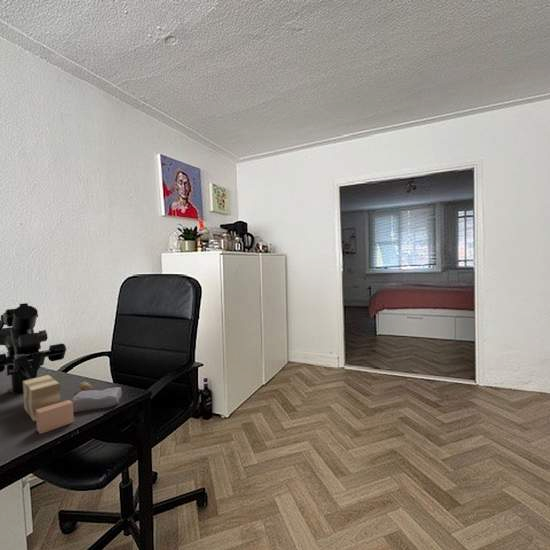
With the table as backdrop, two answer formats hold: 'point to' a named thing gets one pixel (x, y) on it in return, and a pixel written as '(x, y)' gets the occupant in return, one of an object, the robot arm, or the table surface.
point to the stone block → (96, 399)
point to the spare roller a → (85, 386)
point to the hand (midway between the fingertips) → (34, 381)
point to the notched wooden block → (40, 394)
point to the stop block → (54, 416)
